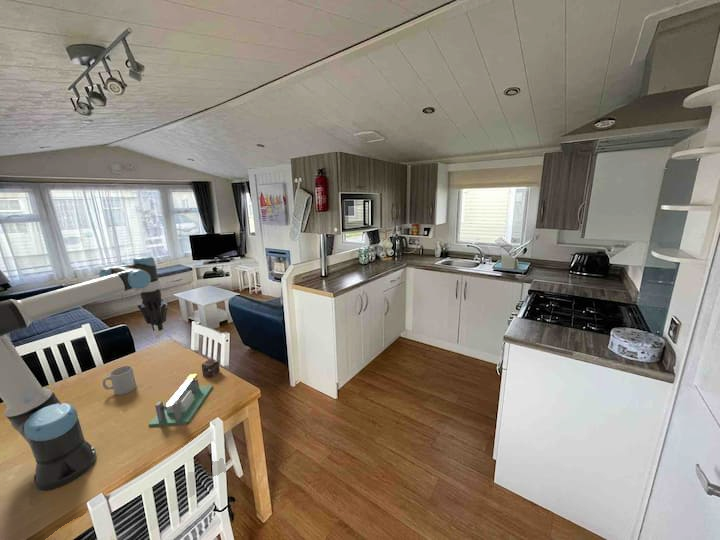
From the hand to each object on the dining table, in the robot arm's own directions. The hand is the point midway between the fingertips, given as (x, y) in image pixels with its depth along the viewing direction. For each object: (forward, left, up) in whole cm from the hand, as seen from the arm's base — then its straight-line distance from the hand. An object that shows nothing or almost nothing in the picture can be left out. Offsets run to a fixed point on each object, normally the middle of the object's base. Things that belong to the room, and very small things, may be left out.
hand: (159, 336), depth 133 cm
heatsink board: (-12, -13, -29) cm, 35 cm away
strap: (-12, -13, -23) cm, 29 cm away
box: (+11, -15, -30) cm, 35 cm away
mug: (+1, +24, -30) cm, 38 cm away
